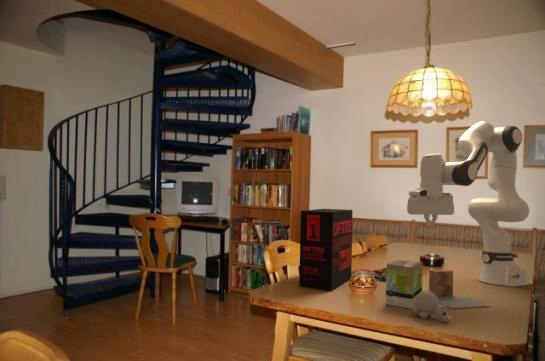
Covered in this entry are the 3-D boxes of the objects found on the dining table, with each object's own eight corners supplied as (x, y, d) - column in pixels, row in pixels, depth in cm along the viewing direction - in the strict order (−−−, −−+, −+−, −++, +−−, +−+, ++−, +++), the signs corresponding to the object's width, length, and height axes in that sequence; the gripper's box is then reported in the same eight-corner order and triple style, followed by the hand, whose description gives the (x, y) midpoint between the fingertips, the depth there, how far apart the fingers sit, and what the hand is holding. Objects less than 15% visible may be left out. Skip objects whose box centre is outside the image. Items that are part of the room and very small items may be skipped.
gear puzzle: (388, 269, 213) (388, 262, 214) (419, 274, 203) (419, 266, 203) (359, 278, 190) (359, 270, 190) (391, 284, 179) (392, 275, 180)
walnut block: (446, 293, 163) (446, 269, 163) (452, 296, 159) (453, 271, 160) (428, 294, 161) (429, 269, 162) (435, 297, 158) (435, 271, 158)
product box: (331, 291, 163) (332, 212, 164) (299, 286, 170) (300, 210, 171) (351, 279, 187) (352, 209, 187) (322, 275, 193) (323, 208, 194)
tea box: (413, 309, 141) (413, 267, 141) (384, 304, 146) (385, 263, 146) (422, 300, 154) (423, 261, 154) (395, 295, 159) (396, 258, 159)
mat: (463, 296, 159) (463, 295, 159) (490, 307, 146) (490, 305, 146) (427, 298, 156) (427, 297, 156) (451, 309, 142) (451, 308, 142)
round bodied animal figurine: (440, 333, 125) (450, 310, 123) (406, 310, 133) (416, 288, 131) (449, 327, 130) (459, 305, 128) (416, 305, 138) (426, 284, 136)
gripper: (447, 192, 174) (447, 224, 173) (405, 191, 169) (404, 225, 168) (457, 192, 167) (457, 226, 167) (414, 192, 163) (413, 226, 162)
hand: (430, 225), depth 168 cm, fingers closed
